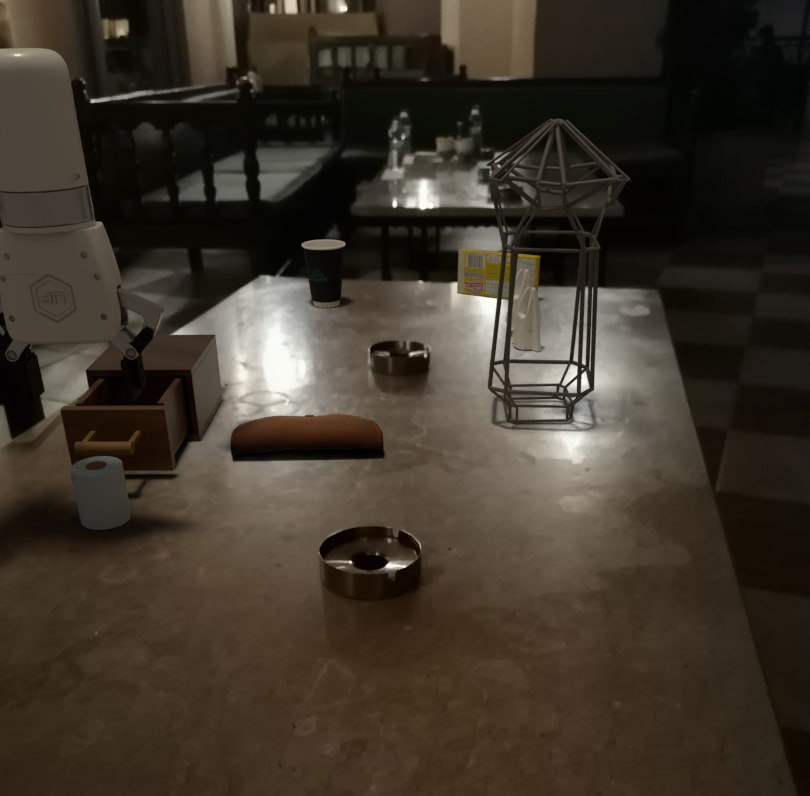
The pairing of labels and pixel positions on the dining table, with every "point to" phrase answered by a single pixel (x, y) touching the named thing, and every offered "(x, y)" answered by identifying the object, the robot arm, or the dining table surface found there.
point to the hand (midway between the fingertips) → (85, 396)
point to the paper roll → (101, 492)
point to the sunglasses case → (306, 434)
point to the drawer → (130, 423)
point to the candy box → (490, 272)
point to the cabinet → (175, 372)
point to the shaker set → (525, 314)
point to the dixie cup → (324, 271)
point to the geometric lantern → (612, 195)
